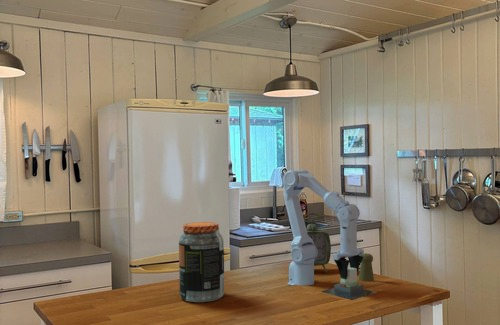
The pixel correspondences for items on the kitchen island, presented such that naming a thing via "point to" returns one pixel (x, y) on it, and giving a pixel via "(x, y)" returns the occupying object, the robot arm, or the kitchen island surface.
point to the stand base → (348, 291)
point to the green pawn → (366, 268)
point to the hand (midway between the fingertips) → (348, 277)
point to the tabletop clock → (319, 242)
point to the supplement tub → (201, 262)
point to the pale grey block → (350, 278)
